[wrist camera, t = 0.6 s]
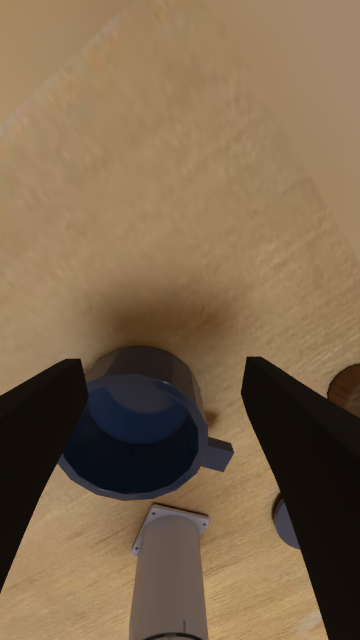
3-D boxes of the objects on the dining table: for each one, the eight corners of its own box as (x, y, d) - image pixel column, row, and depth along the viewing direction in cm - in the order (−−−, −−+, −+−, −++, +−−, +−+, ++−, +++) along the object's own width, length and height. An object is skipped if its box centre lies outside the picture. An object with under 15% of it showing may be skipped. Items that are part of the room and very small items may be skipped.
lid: (337, 548, 28) (367, 600, 24) (254, 529, 27) (270, 581, 22) (394, 482, 25) (441, 527, 21) (303, 456, 24) (334, 499, 19)
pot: (196, 463, 23) (203, 519, 18) (45, 423, 21) (3, 474, 16) (241, 375, 20) (264, 412, 15) (70, 319, 18) (29, 339, 13)
